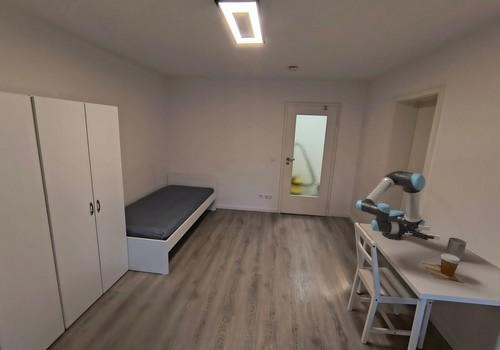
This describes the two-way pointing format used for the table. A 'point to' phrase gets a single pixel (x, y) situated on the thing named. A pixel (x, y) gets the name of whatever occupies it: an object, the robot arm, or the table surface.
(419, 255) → the table surface
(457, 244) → the pillar candle
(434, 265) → the subfloor panel
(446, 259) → the disposable coffee cup
